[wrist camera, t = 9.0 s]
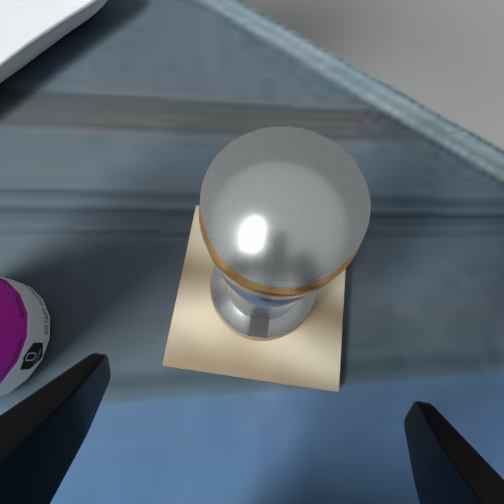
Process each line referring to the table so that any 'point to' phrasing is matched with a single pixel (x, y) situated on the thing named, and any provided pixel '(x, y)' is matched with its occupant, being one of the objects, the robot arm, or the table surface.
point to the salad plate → (37, 28)
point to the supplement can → (20, 333)
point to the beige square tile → (249, 348)
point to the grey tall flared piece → (279, 225)
